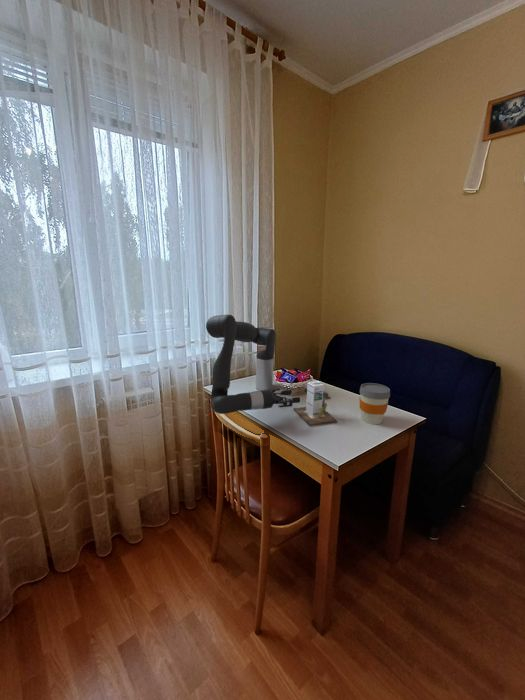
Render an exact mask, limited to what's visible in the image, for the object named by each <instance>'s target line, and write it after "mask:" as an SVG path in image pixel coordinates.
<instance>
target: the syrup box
mask: <svg viewBox="0 0 525 700" xmlns="http://www.w3.org/2000/svg"><path fill="white" fill-rule="evenodd" d="M306 385H307V387H306V389H307V392H306V405H305V407H306V412H307V413H308V414H309V415H310V416H312V417H314V416H318V415H319V408H322V415H323V411H324V402H325V399H324V396H325V392H326V384H325V383H323V382H322V381H321V380H320V381H319V380H316V381H307V384H306Z"/></svg>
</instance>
